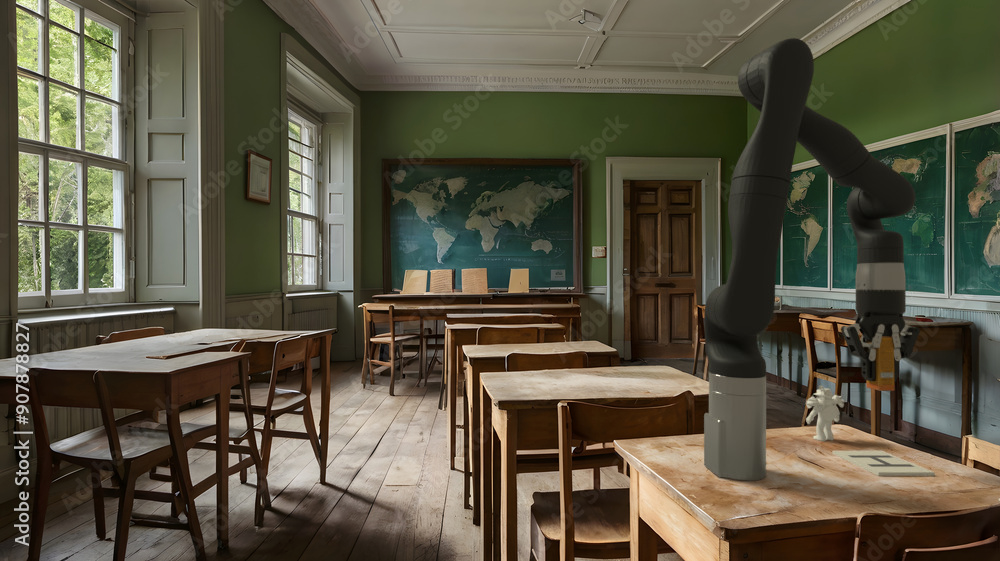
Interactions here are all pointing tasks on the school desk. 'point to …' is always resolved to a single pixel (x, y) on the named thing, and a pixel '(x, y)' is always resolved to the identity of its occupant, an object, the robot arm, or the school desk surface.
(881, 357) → the supplement box
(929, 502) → the school desk surface
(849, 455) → the letter pad
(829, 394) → the white toy figure
